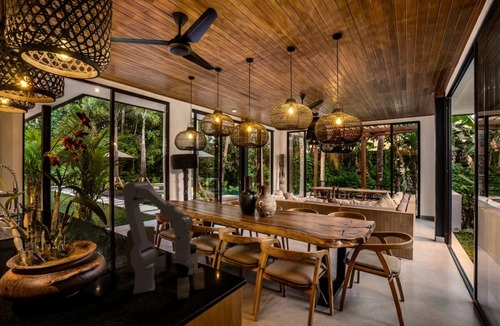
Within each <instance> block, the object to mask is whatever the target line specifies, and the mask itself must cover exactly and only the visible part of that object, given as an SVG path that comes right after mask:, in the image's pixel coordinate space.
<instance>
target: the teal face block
mask: <svg viewBox="0 0 500 326" xmlns="http://www.w3.org/2000/svg"><path fill="white" fill-rule="evenodd" d="M189 277H190V276H187V277H184V278H177V284H176V295H177V300H183V299H188V298H190V297H189V295H190V289H191V285H190V278H189Z"/></svg>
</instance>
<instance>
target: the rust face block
mask: <svg viewBox="0 0 500 326" xmlns="http://www.w3.org/2000/svg"><path fill="white" fill-rule="evenodd" d="M192 287H193V290H194V291H196V290H198V291H199V290H202V289H205V270H204V268H203V267H200V268H197V269H193V274H192Z"/></svg>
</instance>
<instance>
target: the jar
mask: <svg viewBox="0 0 500 326" xmlns="http://www.w3.org/2000/svg"><path fill="white" fill-rule="evenodd" d="M197 249H198V246H197V244H194V243H190V257H191V260H192V262H193V263H194V268H193V269H197V268H198V265H199V264H198V263H199V261H198V260H199V259H198V258H199V252H198V250H197ZM193 269H190V270H189V271H188V274H187V276H189V275H190V276H191V275H192V276H193Z"/></svg>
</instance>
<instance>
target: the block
mask: <svg viewBox="0 0 500 326" xmlns="http://www.w3.org/2000/svg"><path fill="white" fill-rule="evenodd" d="M144 226H145V230H146V234H147V238H148V241H149V242H151V243H153V244H154V248H155V249H156V245H155V244H156V243H155V242H156V241H155V240H156V236H155V235H156V234H155V233H156V227H155V226H154V225H153V226H152V225H144ZM133 247H134V242H133V238H132V234H131V230H130V229H128V230H127V232H126V273H127V274H128V273H129V274H135V269H134V268H133V267H132V265H131V254H130V252H131V250H132V249H133ZM144 250H145V249H144ZM142 251H143V250H142Z"/></svg>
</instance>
